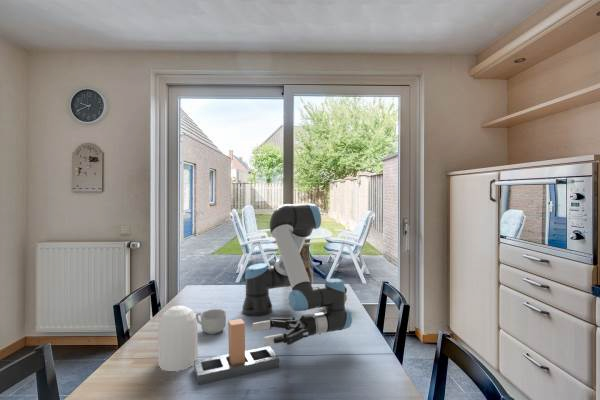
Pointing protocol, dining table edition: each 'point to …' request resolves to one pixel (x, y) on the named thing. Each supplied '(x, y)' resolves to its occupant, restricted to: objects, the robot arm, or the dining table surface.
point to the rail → (238, 369)
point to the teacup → (212, 320)
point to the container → (177, 339)
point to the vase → (306, 259)
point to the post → (236, 341)
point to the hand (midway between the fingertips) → (258, 333)
